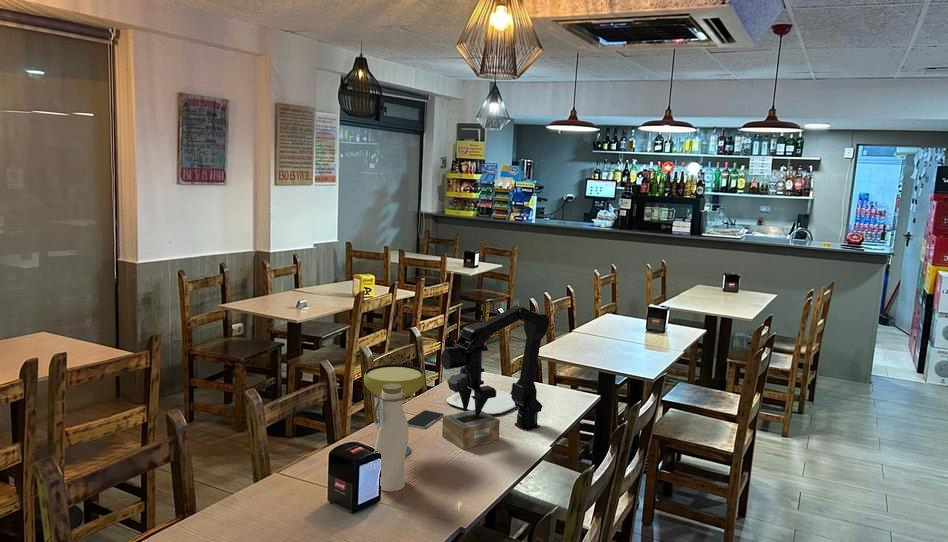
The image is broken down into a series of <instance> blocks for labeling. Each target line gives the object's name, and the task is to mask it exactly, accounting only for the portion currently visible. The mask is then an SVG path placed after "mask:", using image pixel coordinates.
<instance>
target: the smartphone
mask: <svg viewBox="0 0 948 542" xmlns="http://www.w3.org/2000/svg"><path fill="white" fill-rule="evenodd" d="M444 414H445V413H442V412H436V411H431V410H427V409H425V410H424V409H423V411H421V412H419V413H417V414H416V415H415V416H413V417H411V418H410V419H407V422H408V427H412V428H417V429H421V430H425V429H427V428H429V427H430V426H432V423H433V424H434V423H435V422H437V421H438V420H440V419H441V418H443V416H445V415H444Z"/></svg>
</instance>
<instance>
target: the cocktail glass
mask: <svg viewBox="0 0 948 542" xmlns="http://www.w3.org/2000/svg"><path fill="white" fill-rule="evenodd" d="M363 382H364V386H365V387H366V389H367V390H368V391H370V392H371V393H372V394H375V395H376V396H378V397H379V396H380V394H382V390H383V385H385V384H399V385H401V390H402V393H404V394H405V395H406V397H410V396H411V395H413V394H415V393H417V392H419V390H421V388H423V386H424V384H425V372H424V371H423V369H422V368H420V367H417V366H415V365H414V366H413V365H408V364H398V363H396V364H392V363H391V364H381V365H376V366H373V367H370V368H367V369H366V370H365V373H364V376H363ZM403 397H404V396H403ZM411 453H412V449H411V447H410V446H408V445H407V449H406V454H405V457H407V456H409V455H410V454H411Z"/></svg>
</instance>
